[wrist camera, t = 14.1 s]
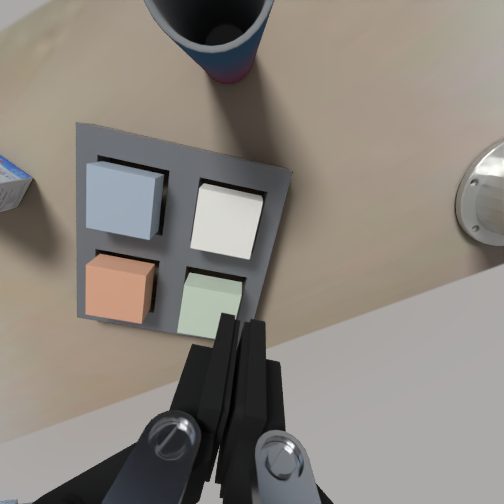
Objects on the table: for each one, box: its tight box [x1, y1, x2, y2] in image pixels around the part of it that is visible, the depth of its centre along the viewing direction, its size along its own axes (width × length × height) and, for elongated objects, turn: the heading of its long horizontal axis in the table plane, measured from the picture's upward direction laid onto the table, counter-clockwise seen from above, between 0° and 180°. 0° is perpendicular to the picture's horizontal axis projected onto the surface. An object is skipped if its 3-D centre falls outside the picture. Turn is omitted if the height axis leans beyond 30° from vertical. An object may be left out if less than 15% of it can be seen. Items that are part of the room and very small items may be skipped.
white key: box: [190, 183, 263, 260], centre depth 29 cm, size 6×6×3 cm
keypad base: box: [76, 122, 293, 344], centre depth 33 cm, size 21×22×3 cm
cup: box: [144, 0, 274, 84], centre depth 20 cm, size 7×7×15 cm
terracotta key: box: [85, 254, 155, 324], centre depth 32 cm, size 6×6×3 cm
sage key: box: [177, 273, 242, 339], centre depth 32 cm, size 6×6×3 cm
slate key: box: [86, 161, 164, 240], centre depth 28 cm, size 6×6×3 cm
